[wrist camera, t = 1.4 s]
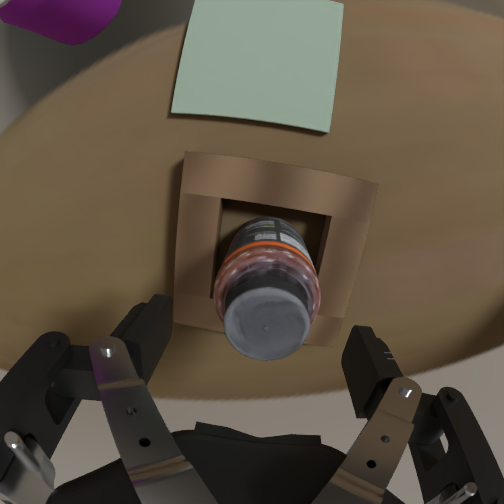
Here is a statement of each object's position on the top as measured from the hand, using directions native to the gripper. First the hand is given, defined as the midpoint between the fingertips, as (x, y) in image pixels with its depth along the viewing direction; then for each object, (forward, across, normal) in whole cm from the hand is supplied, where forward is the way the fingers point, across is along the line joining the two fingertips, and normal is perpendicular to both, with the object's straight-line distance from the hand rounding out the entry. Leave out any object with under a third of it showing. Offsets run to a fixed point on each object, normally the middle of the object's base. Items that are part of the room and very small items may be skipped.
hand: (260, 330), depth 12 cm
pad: (+12, +3, -16) cm, 20 cm away
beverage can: (+12, +20, -21) cm, 31 cm away
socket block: (+12, 0, 0) cm, 12 cm away
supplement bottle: (+12, 0, 0) cm, 12 cm away
